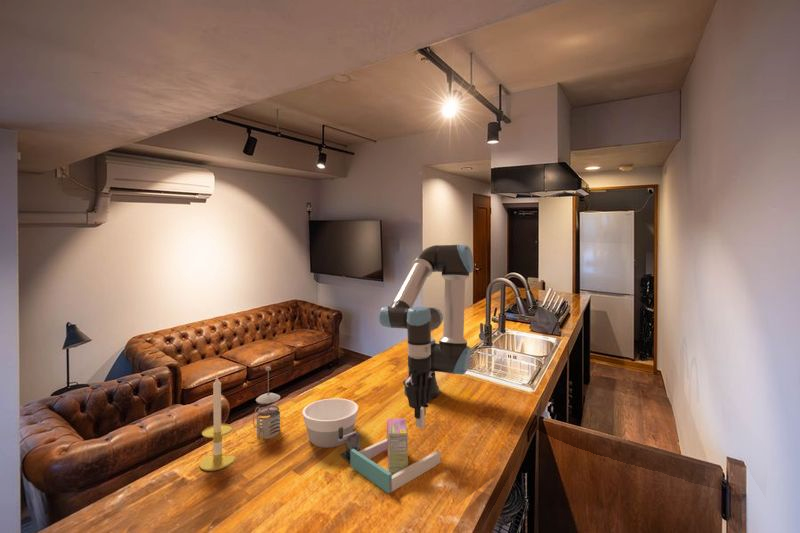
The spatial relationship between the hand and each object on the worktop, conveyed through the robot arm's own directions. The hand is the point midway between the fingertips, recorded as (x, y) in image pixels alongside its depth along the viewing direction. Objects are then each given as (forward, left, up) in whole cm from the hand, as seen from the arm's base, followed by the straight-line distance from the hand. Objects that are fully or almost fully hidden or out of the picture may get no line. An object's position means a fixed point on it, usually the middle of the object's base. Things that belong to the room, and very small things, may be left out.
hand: (420, 426), depth 117 cm
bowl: (-27, -17, -8) cm, 33 cm away
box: (0, -10, -8) cm, 13 cm away
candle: (-39, -50, -8) cm, 64 cm away
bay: (0, -11, -8) cm, 14 cm away
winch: (-12, -18, -8) cm, 23 cm away
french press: (-43, -33, -8) cm, 55 cm away
